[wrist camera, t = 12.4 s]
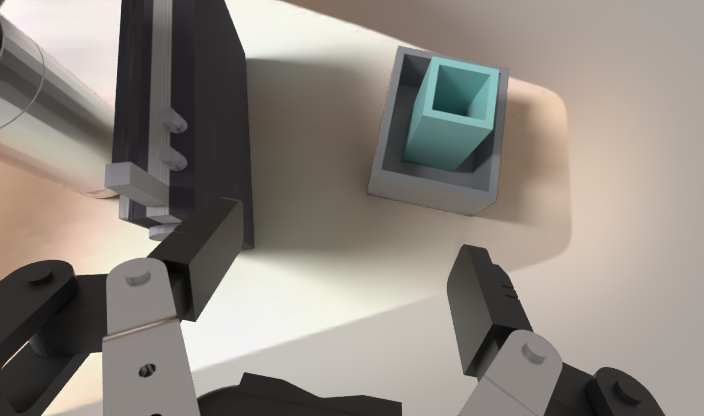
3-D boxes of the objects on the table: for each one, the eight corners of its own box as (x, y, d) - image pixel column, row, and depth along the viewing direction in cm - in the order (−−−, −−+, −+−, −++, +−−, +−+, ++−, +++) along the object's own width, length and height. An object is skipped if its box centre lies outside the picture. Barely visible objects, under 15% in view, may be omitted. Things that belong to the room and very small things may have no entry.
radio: (203, 61, 41) (83, -146, 22) (246, 58, 42) (166, -149, 22) (205, 260, 35) (42, 216, 16) (256, 254, 36) (158, 205, 16)
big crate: (471, 216, 37) (496, 201, 32) (366, 194, 38) (371, 175, 32) (485, 100, 41) (509, 68, 36) (389, 80, 41) (398, 45, 36)
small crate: (453, 172, 38) (492, 129, 28) (401, 161, 38) (422, 115, 28) (459, 125, 39) (499, 69, 30) (409, 114, 39) (432, 56, 30)
